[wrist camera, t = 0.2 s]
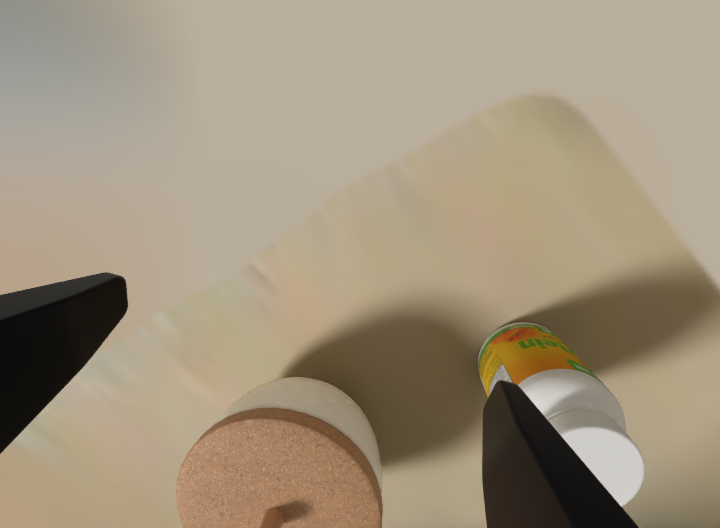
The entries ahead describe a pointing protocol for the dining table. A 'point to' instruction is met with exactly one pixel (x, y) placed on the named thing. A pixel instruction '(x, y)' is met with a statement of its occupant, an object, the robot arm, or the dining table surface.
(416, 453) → the dining table surface
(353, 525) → the lidded jar
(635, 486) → the supplement bottle
